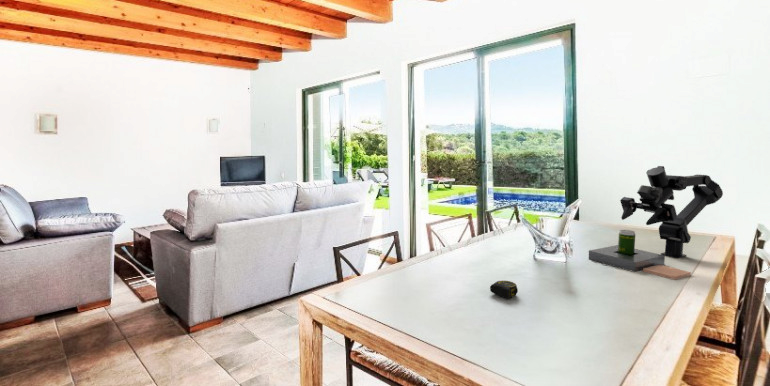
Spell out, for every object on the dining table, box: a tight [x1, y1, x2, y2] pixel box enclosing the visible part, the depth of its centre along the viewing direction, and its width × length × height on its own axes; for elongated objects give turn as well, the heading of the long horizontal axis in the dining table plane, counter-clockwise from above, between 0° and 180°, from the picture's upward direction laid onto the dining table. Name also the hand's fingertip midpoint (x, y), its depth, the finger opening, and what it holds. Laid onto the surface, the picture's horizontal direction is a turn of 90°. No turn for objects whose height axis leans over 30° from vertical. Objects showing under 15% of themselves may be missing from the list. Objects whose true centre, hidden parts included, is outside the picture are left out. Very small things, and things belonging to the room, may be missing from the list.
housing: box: [588, 244, 666, 273], centre depth 150 cm, size 18×18×4 cm
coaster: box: [642, 265, 692, 281], centre depth 136 cm, size 10×10×1 cm
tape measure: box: [489, 280, 519, 299], centre depth 118 cm, size 7×7×4 cm
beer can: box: [617, 229, 636, 256], centre depth 150 cm, size 5×5×12 cm
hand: (634, 221), depth 146 cm, fingers open, 9 cm apart
